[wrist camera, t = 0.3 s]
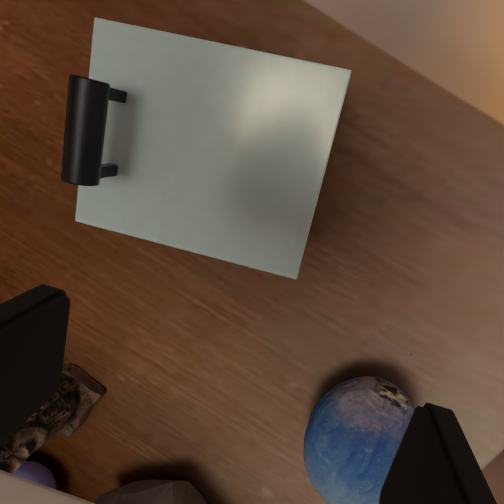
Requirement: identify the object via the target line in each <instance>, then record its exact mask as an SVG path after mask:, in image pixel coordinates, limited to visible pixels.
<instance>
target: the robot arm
mask: <svg viewBox="0 0 504 504" xmlns="http://www.w3.org/2000/svg"><path fill="white" fill-rule="evenodd" d="M69 309H70V299H69V298H68V297H66V293H65V291H64V290H61V289H58V288H54V287H51V286H48V285H44V284H42V285H39V286H37V287H35V288H33V289H31V290H29V291H27V292H25V293H23V294H21V295H19V296H17V297H15V298H13V299H10V300H8V301H6V302H4V303H2V304H0V444H1V443H2V442H4V441H5V440H6V439H7V438H8V437H9V436H10V435H11V434H12V433H13V432H14V431H16V430H17V429H18V428H19V427H20V426H21V425H22V424H23V423H24V422H25V421H26V420H28V419H29V418H30V417H31V416H32V415H33V414H34V413H35V412H36V411H37V410H38V409H40V408H41V407H42V406H43V405H44V404H45V403H46V402H47V401H48V400H49V399H50V398H52V397H53V396H54V395H55V393H56V392H57V390H58V388H59V386H60V383H61V376H62V367H63V359H64V351H65V342H66V334H67V326H68V317H69ZM0 504H94V503H92V502H89V501H86V500H83V499H81V498H78V497H75V496H72V495H70V494H67V493H64V492H61V491H58V490H55V489H53V488H50V487H47V486H44V485H41V484H39V483H36V482H33V481H30V480H27V479H25V478H22V477H19V476H16V475H13V474H11V473H8V472H5V471H2V470H0ZM379 504H497V503H496V501H495V499H494V497H493V495H492V493H491V490H490V488H489V486H488V484H487V482H486V480H485V478H484V476H483V473H482V471H481V469H480V467H479V465H478V463H477V461H476V459H475V456H474V454H473V452H472V450H471V448H470V446H469V444H468V442H467V440H466V437H465V435H464V433H463V431H462V429H461V427H460V425H459V423H458V421H457V418H456V416H455V414H454V412H453V411H452V410H450V409H447V408H443V407H440V406H437V405H434V404H430V403H426V404H425V405H424V406H423V407H420V406H417V407H416V408H415V410H414V412H413V415H412V417H411V419H410V422H409V424H408V427H407V429H406V431H405V434H404V436H403V439H402V441H401V443H400V446H399V448H398V451H397V453H396V455H395V458H394V460H393V462H392V465H391V467H390V470H389V472H388V474H387V477H386V479H385V482H384V484H383V486H382V489H381V492H380V498H379Z"/></svg>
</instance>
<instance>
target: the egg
mask: <svg viewBox="0 0 504 504" xmlns="http://www.w3.org/2000/svg"><path fill="white" fill-rule="evenodd" d="M410 355H412V354H410ZM414 410H415V408H414V406H413V404H412V402H411V400H410V398H409V397H408V396H407V395H406V394H405V393H404V392H403V391H401V390H400V389H399V388H398V387H397V386H395V385H393V384H391V383H390V382H388V381H386V380H384V379H381V378H379V377H371V376H362V377H356V378H352V379H349V380H347V381H344V382H341V383H339V384H337V385H336V386H334V387H333V388H331V389H329V391H328V392H327V393H326V394H325V395H324V396H323V397H322V398H321V399H320V400H319V402H318V403H317V405H316V407H315V409H314V410H313V412H312V414H311V416H310V420H309V423H308V426H307V429H306V433H305V438H304V461H305V466H306V470H307V473H308V476H309V478H310V480H311V482H312V484H313V486H314V487H315V489H316V491H317V492H318V493H319V494H320V495H321V496H322V497H323V498H324V499H325V500H326V501H328V502H329V503H331V504H376V503H379V498H380V492H381V489H382V486H383V484H384V482H385V479H386V477H387V474H388V472H389V470H390V467H391V465H392V462H393V460H394V458H395V455H396V453H397V451H398V448H399V446H400V443H401V441H402V439H403V436H404V434H405V431H406V429H407V427H408V424H409V422H410V419H411V417H412V415H413V412H414Z"/></svg>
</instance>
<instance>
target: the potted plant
mask: <svg viewBox="0 0 504 504" xmlns="http://www.w3.org/2000/svg"><path fill="white" fill-rule="evenodd" d="M95 504H207V503H206V501H205V500H204V498H203V497H202V495H201V494H200V493H199V491H198V490H197V489H196V488H195V487H194V486H193V485H192V484H191V483H189V482H188V481H177V480H143V481H134V482H132V483H129V484H127V485H124V486H122V487H120V488H117V489H115V490H112V491H110V492H107V493H105V494H103V495H100V496H99V498H98V499H97V501H96V503H95Z"/></svg>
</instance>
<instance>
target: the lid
mask: <svg viewBox="0 0 504 504" xmlns="http://www.w3.org/2000/svg"><path fill="white" fill-rule="evenodd" d="M351 72H352V70H349V69H344V68H340V67H335V66H330V65H325V64H320V63H315V62H310V61H306V60H301V59H296V58H291V57H286V56H281V55H276V54H271V53H267V52H262V51H257V50H252V49H247V48H242V47H237V46H233V45H228V44H223V43H218V42H213V41H208V40H203V39H198V38H194V37H189V36H184V35H179V34H174V33H169V32H164V31H160V30H155V29H150V28H145V27H140V26H135V25H130V24H125V23H121V22H116V21H111V20H106V19H101V18H94V27H93V38H92V48H91V59H90V69H89V78H85V77H81V76H76V75H70V76H69V87H68V99H67V111H66V123H65V135H64V147H63V159H62V172H61V180H62V181H64V182H67V183H70V184H74V185H78V195H77V206H76V217H75V221H77V222H81V223H84V224H88V225H92V226H96V227H99V228H103V229H107V230H111V231H115V232H118V233H122V234H126V235H130V236H133V237H137V238H141V239H145V240H148V241H152V242H156V243H160V244H164V245H167V246H171V247H175V248H179V249H182V250H186V251H190V252H194V253H198V254H201V255H205V256H209V257H213V258H216V259H220V260H224V261H228V262H231V263H235V264H239V265H243V266H247V267H250V268H254V269H258V270H262V271H265V272H269V273H273V274H277V275H280V276H284V277H288V278H292V279H297V276H298V272H299V269H300V265H301V261H302V257H303V254H304V250H305V246H306V242H307V238H308V235H309V231H310V227H311V223H312V220H313V216H314V212H315V208H316V204H317V201H318V197H319V193H320V189H321V186H322V182H323V178H324V174H325V170H326V167H327V163H328V159H329V155H330V152H331V148H332V144H333V140H334V136H335V133H336V129H337V125H338V121H339V118H340V114H341V110H342V106H343V102H344V99H345V95H346V91H347V87H348V84H349V80H350V76H351Z"/></svg>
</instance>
